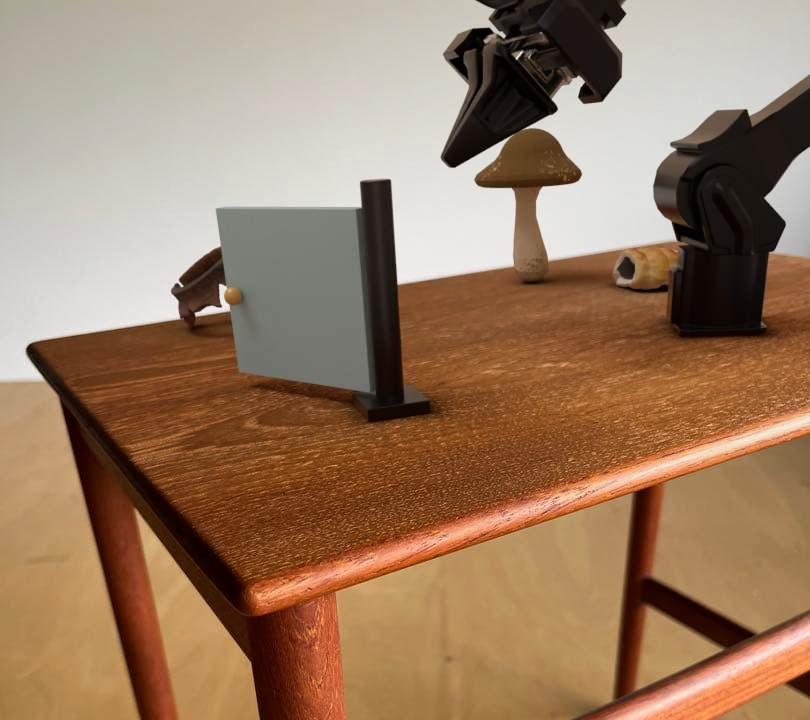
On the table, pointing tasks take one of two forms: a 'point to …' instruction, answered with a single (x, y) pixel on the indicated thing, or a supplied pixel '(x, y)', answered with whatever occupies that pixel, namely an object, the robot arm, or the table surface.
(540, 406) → the table surface
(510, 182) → the mushroom
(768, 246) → the robot arm
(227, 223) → the door
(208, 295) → the broken clay pot shard
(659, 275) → the pastry
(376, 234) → the door frame
